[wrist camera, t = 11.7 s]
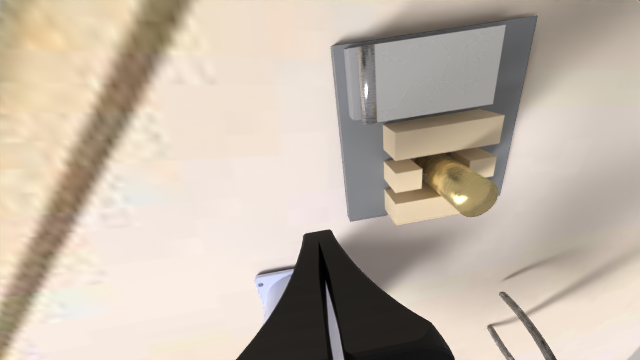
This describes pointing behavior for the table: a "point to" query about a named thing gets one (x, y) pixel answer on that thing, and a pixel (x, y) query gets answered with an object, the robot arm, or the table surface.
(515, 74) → the board
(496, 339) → the pliers
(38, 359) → the table surface
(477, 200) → the pin
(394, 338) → the robot arm
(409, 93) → the grey flat plate
